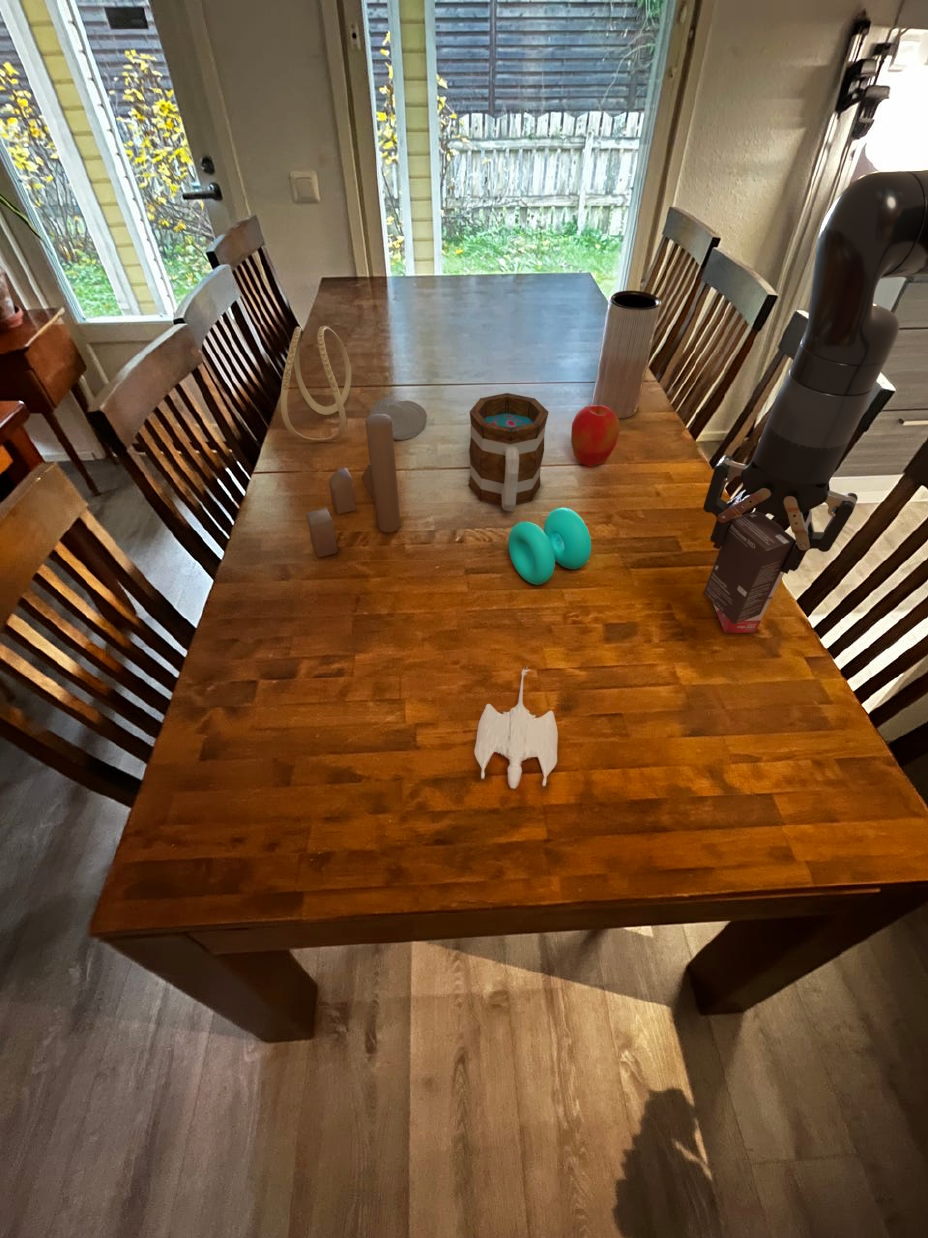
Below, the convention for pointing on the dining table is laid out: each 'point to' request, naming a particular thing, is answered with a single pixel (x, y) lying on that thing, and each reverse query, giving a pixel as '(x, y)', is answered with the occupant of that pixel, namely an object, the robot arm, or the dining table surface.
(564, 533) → the turquoise yo-yo
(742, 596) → the box
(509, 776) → the white dragon
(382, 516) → the wooden blocks
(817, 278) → the robot arm
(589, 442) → the apple
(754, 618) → the ink box
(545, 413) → the mug
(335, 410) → the beige looped band
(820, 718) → the dining table surface
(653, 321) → the planter
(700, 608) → the dining table surface
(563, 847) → the dining table surface
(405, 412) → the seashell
